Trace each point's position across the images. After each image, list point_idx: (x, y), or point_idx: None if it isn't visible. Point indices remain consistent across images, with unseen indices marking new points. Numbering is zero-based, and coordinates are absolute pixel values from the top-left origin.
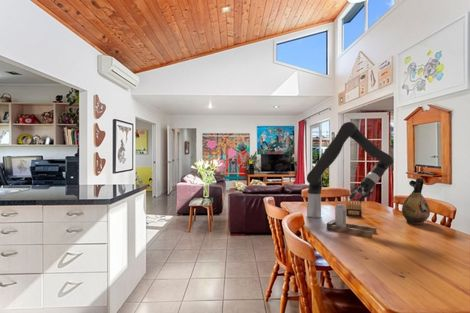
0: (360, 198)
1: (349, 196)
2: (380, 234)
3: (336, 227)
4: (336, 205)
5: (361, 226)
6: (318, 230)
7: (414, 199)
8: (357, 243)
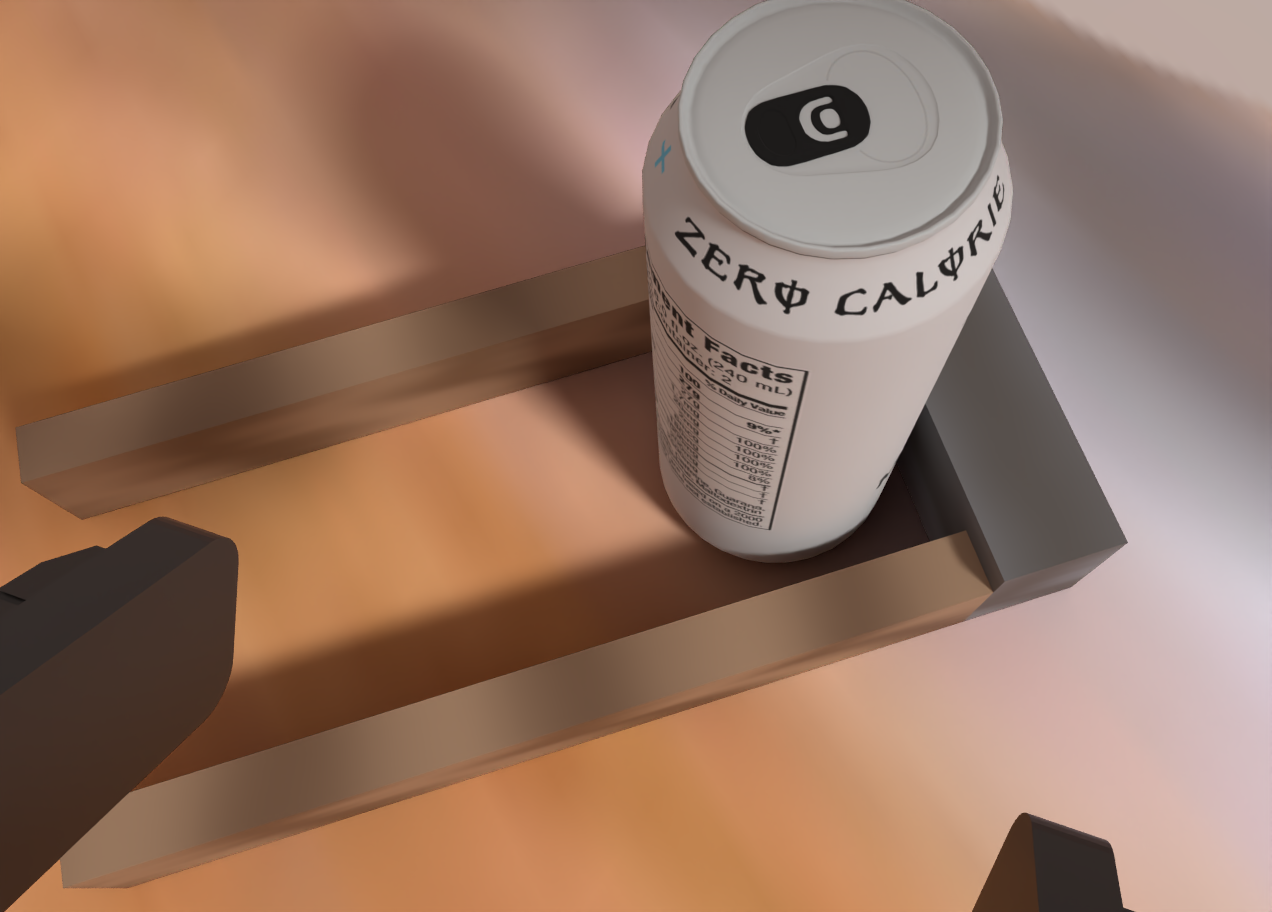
0: (75, 597)
1: (1119, 891)
2: None
3: None
4: (922, 32)
5: (391, 713)
6: None
7: None
8: (130, 45)
